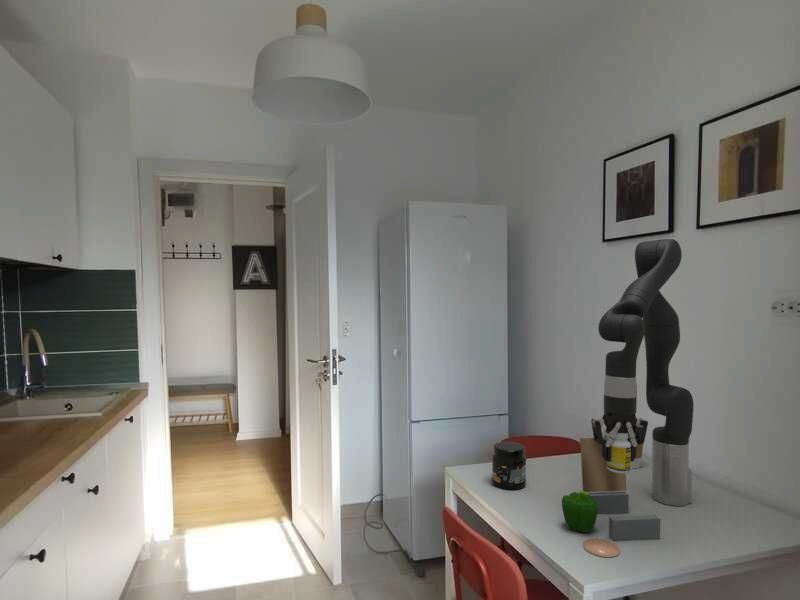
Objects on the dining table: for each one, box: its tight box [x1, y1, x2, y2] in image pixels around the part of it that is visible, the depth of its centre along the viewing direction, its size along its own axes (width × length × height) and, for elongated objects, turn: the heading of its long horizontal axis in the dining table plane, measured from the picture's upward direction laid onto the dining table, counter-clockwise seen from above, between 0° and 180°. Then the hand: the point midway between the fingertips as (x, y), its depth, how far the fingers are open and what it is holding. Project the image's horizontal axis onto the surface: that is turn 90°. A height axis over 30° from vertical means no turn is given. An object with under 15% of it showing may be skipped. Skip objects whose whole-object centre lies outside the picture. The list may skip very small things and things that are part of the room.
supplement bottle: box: [607, 433, 631, 475], centre depth 122 cm, size 5×5×10 cm
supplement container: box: [491, 441, 527, 491], centre depth 152 cm, size 10×10×12 cm
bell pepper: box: [561, 490, 598, 533], centre depth 124 cm, size 8×8×10 cm
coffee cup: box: [630, 424, 644, 469], centre depth 168 cm, size 8×8×15 cm
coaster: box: [582, 537, 621, 559], centre depth 114 cm, size 8×8×1 cm
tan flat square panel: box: [579, 437, 628, 493], centre depth 134 cm, size 12×14×1 cm
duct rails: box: [587, 491, 661, 542], centre depth 126 cm, size 12×16×5 cm
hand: (618, 460), depth 122 cm, fingers closed on supplement bottle, 5 cm apart
